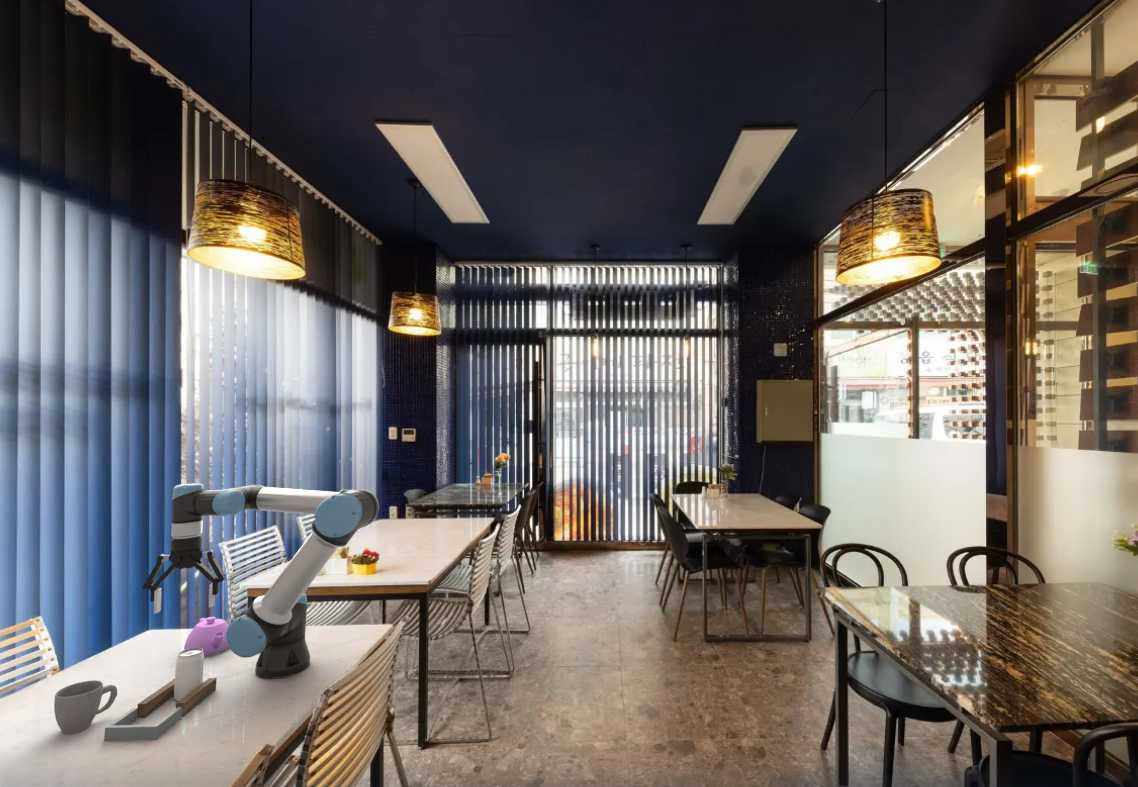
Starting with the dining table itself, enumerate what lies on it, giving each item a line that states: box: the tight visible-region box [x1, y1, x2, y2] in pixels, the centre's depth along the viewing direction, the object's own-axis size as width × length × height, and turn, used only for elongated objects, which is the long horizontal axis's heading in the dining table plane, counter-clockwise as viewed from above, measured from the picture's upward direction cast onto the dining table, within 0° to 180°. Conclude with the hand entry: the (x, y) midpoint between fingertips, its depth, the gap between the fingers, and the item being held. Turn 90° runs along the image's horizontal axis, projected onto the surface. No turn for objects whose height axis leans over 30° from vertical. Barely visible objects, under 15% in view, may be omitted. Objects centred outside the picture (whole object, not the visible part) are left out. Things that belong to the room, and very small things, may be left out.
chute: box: [136, 677, 217, 719], centre depth 142 cm, size 12×14×4 cm
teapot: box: [183, 616, 230, 658], centre depth 177 cm, size 14×20×11 cm
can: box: [173, 648, 205, 702], centre depth 147 cm, size 6×6×12 cm
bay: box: [103, 707, 183, 742], centre depth 130 cm, size 12×9×3 cm
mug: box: [53, 680, 118, 736], centre depth 132 cm, size 12×9×10 cm
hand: (184, 609), depth 154 cm, fingers open, 13 cm apart
